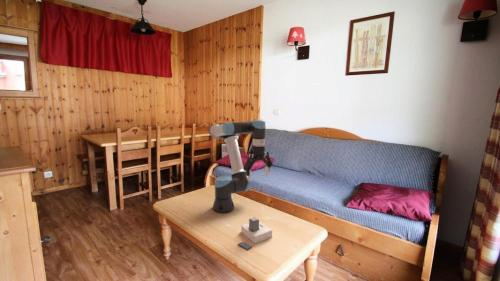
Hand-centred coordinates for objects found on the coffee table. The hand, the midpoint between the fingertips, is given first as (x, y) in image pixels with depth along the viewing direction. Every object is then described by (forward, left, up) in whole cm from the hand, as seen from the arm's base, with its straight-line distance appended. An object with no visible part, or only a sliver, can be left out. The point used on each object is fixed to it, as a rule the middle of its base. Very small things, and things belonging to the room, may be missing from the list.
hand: (258, 178), depth 152 cm
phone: (+18, -22, -29) cm, 40 cm away
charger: (+12, -12, -29) cm, 33 cm away
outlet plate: (+12, -10, -29) cm, 32 cm away
